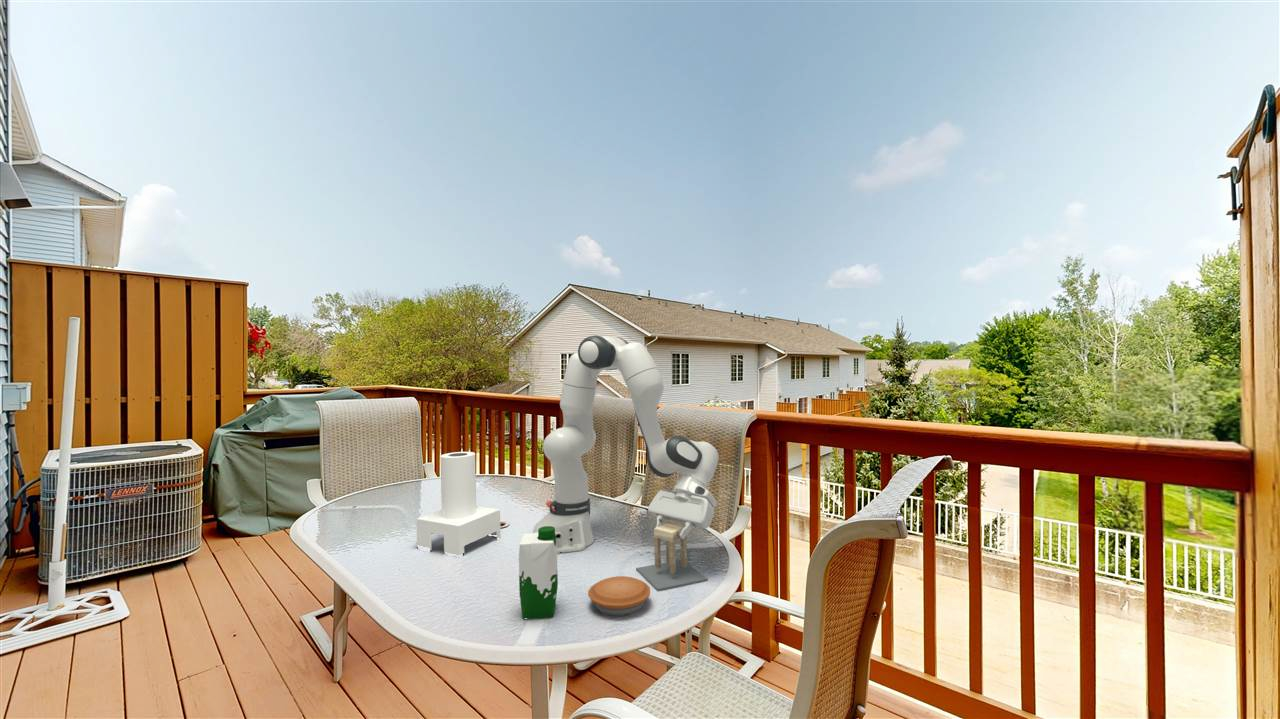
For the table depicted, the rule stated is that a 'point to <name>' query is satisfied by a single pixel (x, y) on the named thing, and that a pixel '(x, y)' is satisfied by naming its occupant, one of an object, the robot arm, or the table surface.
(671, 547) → the stool
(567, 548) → the robot arm
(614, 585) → the pie
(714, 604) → the table surface
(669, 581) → the mat
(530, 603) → the milk carton
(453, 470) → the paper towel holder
